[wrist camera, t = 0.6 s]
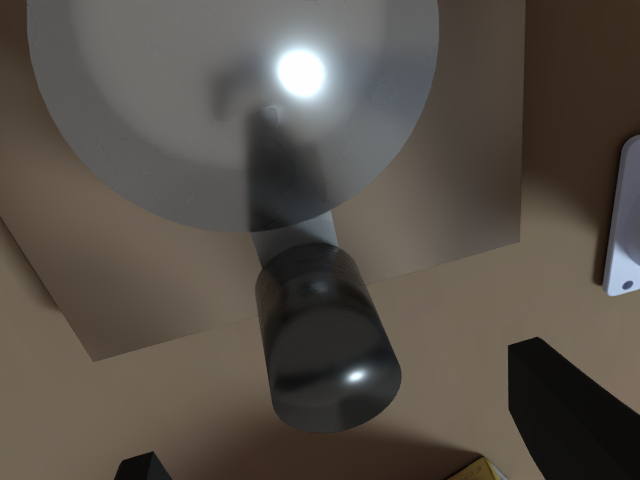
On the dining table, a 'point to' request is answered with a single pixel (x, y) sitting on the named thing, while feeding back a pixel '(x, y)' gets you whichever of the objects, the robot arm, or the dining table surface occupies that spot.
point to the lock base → (238, 248)
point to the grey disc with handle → (254, 152)
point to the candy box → (479, 472)
